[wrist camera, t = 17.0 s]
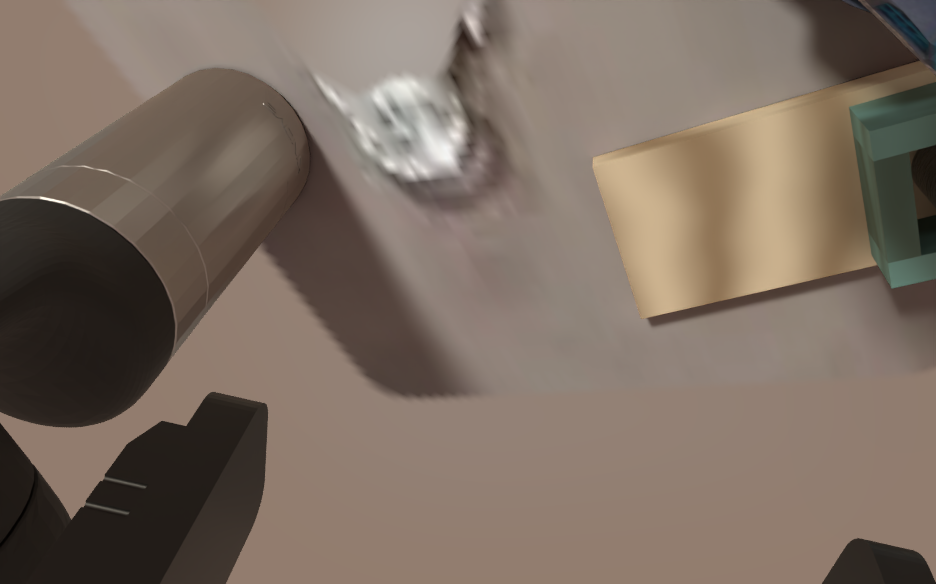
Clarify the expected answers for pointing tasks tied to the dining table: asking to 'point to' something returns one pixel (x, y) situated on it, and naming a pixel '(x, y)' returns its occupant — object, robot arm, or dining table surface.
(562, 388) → the dining table surface
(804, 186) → the board
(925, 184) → the dark grey metallic cylinder
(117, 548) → the robot arm
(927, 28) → the impact wrench
